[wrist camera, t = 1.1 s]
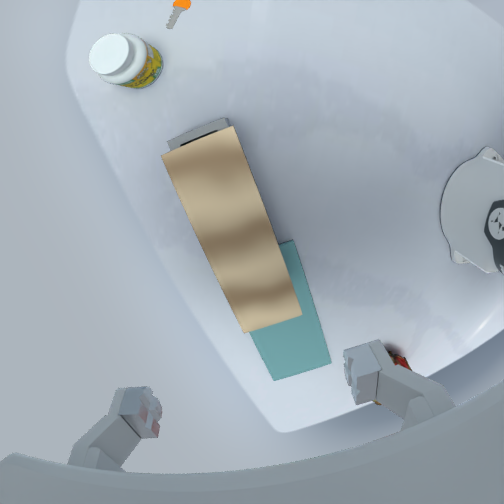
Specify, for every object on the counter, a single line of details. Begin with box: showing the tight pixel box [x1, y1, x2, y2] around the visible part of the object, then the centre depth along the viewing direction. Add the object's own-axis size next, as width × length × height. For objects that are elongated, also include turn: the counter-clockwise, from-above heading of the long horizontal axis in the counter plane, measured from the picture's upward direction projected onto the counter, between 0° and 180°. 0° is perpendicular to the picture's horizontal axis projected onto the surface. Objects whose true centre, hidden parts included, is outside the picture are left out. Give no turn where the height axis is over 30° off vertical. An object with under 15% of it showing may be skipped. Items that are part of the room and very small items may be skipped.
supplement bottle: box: [89, 33, 163, 88], centre depth 24 cm, size 5×5×10 cm
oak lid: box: [161, 126, 303, 333], centre depth 29 cm, size 20×7×3 cm, turn 20°
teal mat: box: [249, 240, 331, 381], centre depth 43 cm, size 23×10×1 cm, turn 20°
